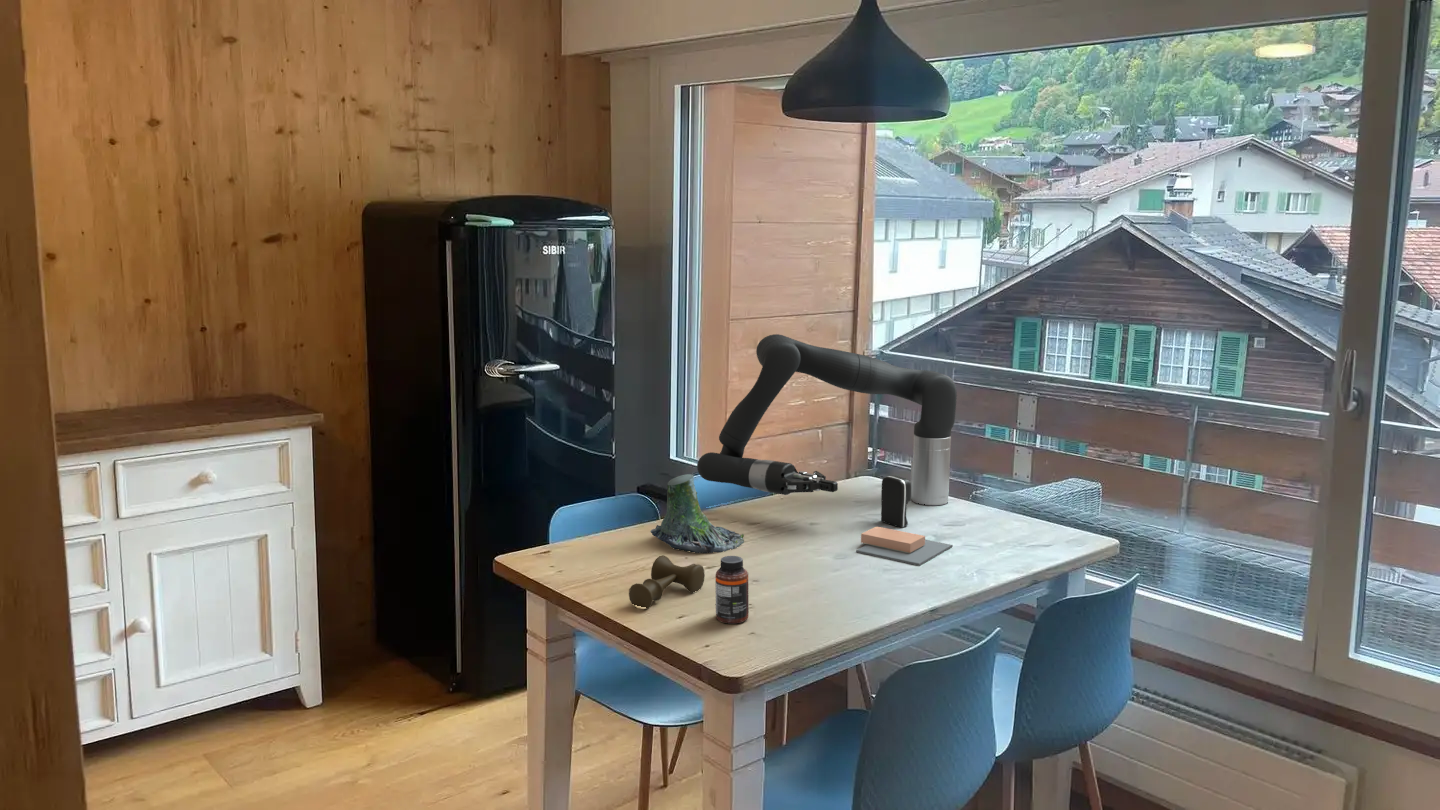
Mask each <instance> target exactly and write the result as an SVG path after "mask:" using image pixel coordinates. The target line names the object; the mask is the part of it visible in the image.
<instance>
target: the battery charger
mask: <svg viewBox="0 0 1440 810" xmlns="http://www.w3.org/2000/svg"><path fill="white" fill-rule="evenodd" d="M880 490H881V493H880V494H881V495H880V497H881V498H880V499H881V506H880V507H881V510H880V513H881V515H880V521H881V522H883V523H886V524H888V525H891V526H894V527H898V528H904V527H907V526H908V524H909V522H908V519H907V509H908V508H907V507H908V506H907V505H908V502H909V501H912V498H911V480H909V479H908V478H906V477H902V476H899V475H898V476H897V475H887V476H884V477H883V478H882V481H881V489H880Z"/></svg>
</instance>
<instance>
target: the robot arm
mask: <svg viewBox="0 0 1440 810" xmlns="http://www.w3.org/2000/svg"><path fill="white" fill-rule="evenodd" d="M755 352H756V353H755V354H756V358H757V360H758V362H759V364H760V365H761V370H760V373H759V375H758V377H757V379H756V381H755V383H754V385H753V387H752V388H751V389H750V390H749V392H748V393H747V394H746V395H745V396H744V397H743V398H742V399H741V401H739V402H738V404H737V405H736V406H735V407H734V409H733V410H732V411H731V413H730V415H729V416H728V418H727V420H726V422H725V424H724V426H723V427H722V429H721V431H720V433H719V434H718V440H719V442H720V443H721V444H722V447H721V450H720V452H719V453H718V452H711V451H710V452H707V453H704V454H703V455H702V456H701V457H700V458H699V459H698V461H697V464H696V469H697V472H698V475H699V476H700V477H701V478H702V479H704V480H705V481H708V482H715V483H722V484H723V483H724V484H731V485H732V484H733V485H737V486H740V487H744V488H748V489H755V490H758V491H761V492H766V493H771V494H772V493H773V494H777V495H782V496H787V495H790V494H792V493H793V494H794V493H797V494H798V493H814V491H815V492H820V491H824V492H829V493H834V492H836V491H838V488H839V487H838V482H837V481H835V480H828V479H827V477H826V475H824V474H823V473H821V472H820V471H818V470H815V471H813V472H812V473H809V472H807V471H804V470H799V471H798V470H797V469H796V467H795V465H794V464H792V463H790V462H784V461H776V460H771V459H756V458H750V457H743V456H744V453H745V450H746V449H745V448H746V446H747V444H748V443H749V441H750V439H751V437H752V435H753V434H754V432H755V431H756V429H757V426H758V425H759V423H760V422H761V420H762V418H763V417H764V415H765V414H766V412H767V410H768V409H769V407H770V406H771V404H772V403H773V402H774V400H775V399H776V397H777V396H778V394H780V392H781V390H782V389H783V388H784V387H785V385H786V384H787V383H788V382H789V380H790V379H791V378H792V377H793V376H794V374H795V373H801V374H805V375H808V376H811V377H813V378H816V379H818V380H820V381H822V382H824V383H826V384H829V385H831V386H834V387H837V388H840V389H842V390H847V391H851V392H855V393H860V394H867V395H891V396H896V397H899V398H902V399H905V400H908V401H910V402H914V403H916V404H918V405H920V406H921V412H920V418H919V421H917V422H915V424H914V426H913V446H912V448H913V454H912V456H913V457H912V461H911V463H910V483H911V501H912V502H913V503H916V504H918V503H919V504H920V505H924V504H925V506H942V505H946V504H948V503H949V493H950V492H949V489H950V473H951V472H950V469H951V443H952V436H951V435H952V429H953V427H954V425H955V421H956V420H955V419H956V411H957V396H958V395H957V386H956V383H955V382H954V379H952V378H951V377H950V376H948V375H947V374H944V373H941V372H937V371H934V370H925V369H924V370H923V369H914V368H906V367H901V366H897V365H894V364H892V363H888V362H886V361H884V360H881V359H878V358H875V357H871V356H868V355H866V354H865V355H864V354H860V353H856V352H851V351H844V350H839V349H835V348H829V347H820V346H816V345H812V344H809V343H805V342H803V341H800V340H797V339H794V338H792V337H789V336H786V335H783V334H779V333H778V334H777V333H776V334H769V335H766V336H765V337H763V338H762V339H761V340H760V341H759V342H758V344H757V346H756V350H755ZM947 502H948V503H947ZM919 504H918V505H919Z"/></svg>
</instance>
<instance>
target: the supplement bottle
mask: <svg viewBox="0 0 1440 810" xmlns="http://www.w3.org/2000/svg"><path fill="white" fill-rule="evenodd" d="M714 583H715V584H714V586H715V605H714V606H715V618H716V620H717V621H719V622H720V621H721V623H723V624H727V623H728V624H729V625H732V624H734V625H735V624H741V623H745V621H746V620H748V618H749V608H750V607H749V605H750V604H749V601H750V600H749V572H748V570H747V569H746V568H744V559H743V558H742V557H741V556H737V555H725V556H722V557H721V558H720V567H719V568H718V569H717V571H716V572H715V582H714ZM728 624H727V625H728Z"/></svg>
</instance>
